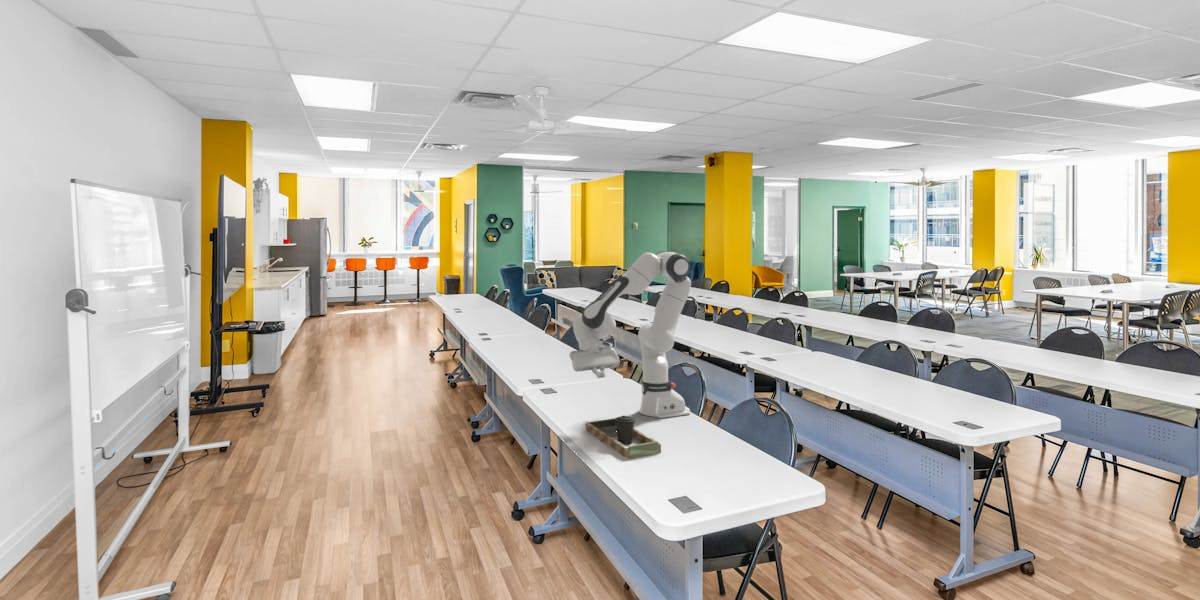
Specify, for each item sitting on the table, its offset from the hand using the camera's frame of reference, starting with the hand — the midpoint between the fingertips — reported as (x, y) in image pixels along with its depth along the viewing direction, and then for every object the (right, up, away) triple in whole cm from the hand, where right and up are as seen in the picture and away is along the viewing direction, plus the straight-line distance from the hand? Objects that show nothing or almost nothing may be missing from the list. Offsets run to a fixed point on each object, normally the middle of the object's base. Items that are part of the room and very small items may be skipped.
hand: (601, 376), depth 257 cm
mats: (+3, -22, -4) cm, 23 cm away
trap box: (+8, -23, -13) cm, 28 cm away
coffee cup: (+9, -23, -16) cm, 30 cm away
